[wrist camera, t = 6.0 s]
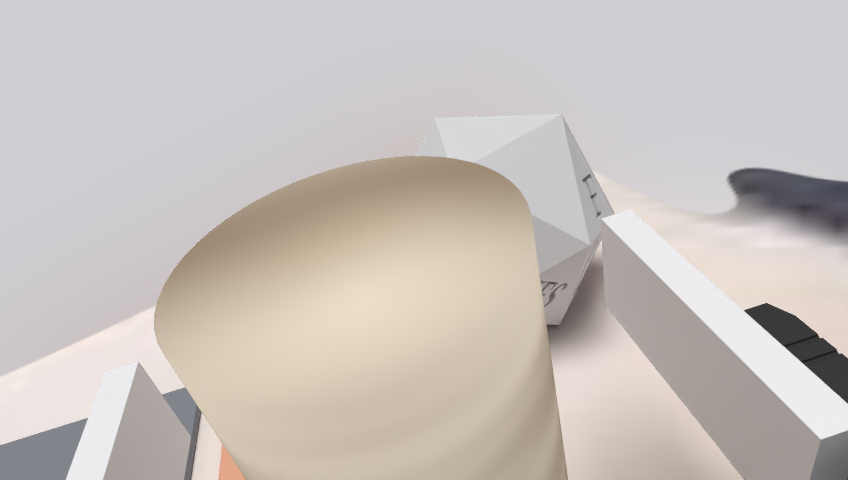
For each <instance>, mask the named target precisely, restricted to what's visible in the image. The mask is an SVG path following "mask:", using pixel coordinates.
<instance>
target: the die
mask: <svg viewBox="0 0 848 480" xmlns="http://www.w3.org/2000/svg"><path fill="white" fill-rule="evenodd" d="M415 156H433V157H446V158H454V159H459V160H464V161H469V162H473V163H476V164H479V165H482V166H485V167H487V168H489V169H492V170H494V171H496V172H498V173H500V174H501V175H503V176H504V177H505V178H507V179H508V180H510V181H511V182H512V183H513V184H514V185H515V186H516V187H517V188H518V189H519V190H520V191H521V193H522V194H523V196H524V198H525V199H526V201H527V203H528V206H529V209H530V212H531V216H532V223H533V231H534V238H535V245H536V252H537V259H538V267H539V274H540V281H541V288H542V296H543V303H544V310H545V317H546V324H550V325H560V324H561V322H562V320H563V318H564V316H565V314H566V312H567V310H568V307H569V305H570V303H571V301H572V299H573V297H574V295H575V293H576V291H577V289H578V288H577V287H578V285H579V284H580V282H581V281H582V278H583V276H584V274H585V272H586V270H587V268H588V266H589V264H590V262H591V260H592V258H593V256H594V254H595V251H596V249H597V247H598V245H599V243H600V241H601V239H602V231H601V218H605V217H608V216H611V215H613V214H614V211H613V209H612V207H611V205H610V203H609V202H608V200H607V198H606V196H605V194H604V192H603V190H602V189H601V187H600V185H599V183H598V181H597V179H596V177H595V175H594V174H593V172H592V170H591V168H590V166H589V164H588V163H587V161H586V159H585V157H584V155H583V153H582V151H581V149H580V148H579V146H578V144H577V142H576V140H575V138H574V136H573V134H572V133H571V131H570V129H569V127H568V125H567V123H566V121H565V119H564V118H563V116H562V114H548V115H547V114H546V115H515V116H482V117H451V118H450V117H449V118H434V120H433V122H432V124H431V126H430V127H429V129H428V131H427V133H426V135H425V137H424V139H423V141H422V143H421V145H420V147H419V149H418V150H417V152H416V154H415Z"/></svg>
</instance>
